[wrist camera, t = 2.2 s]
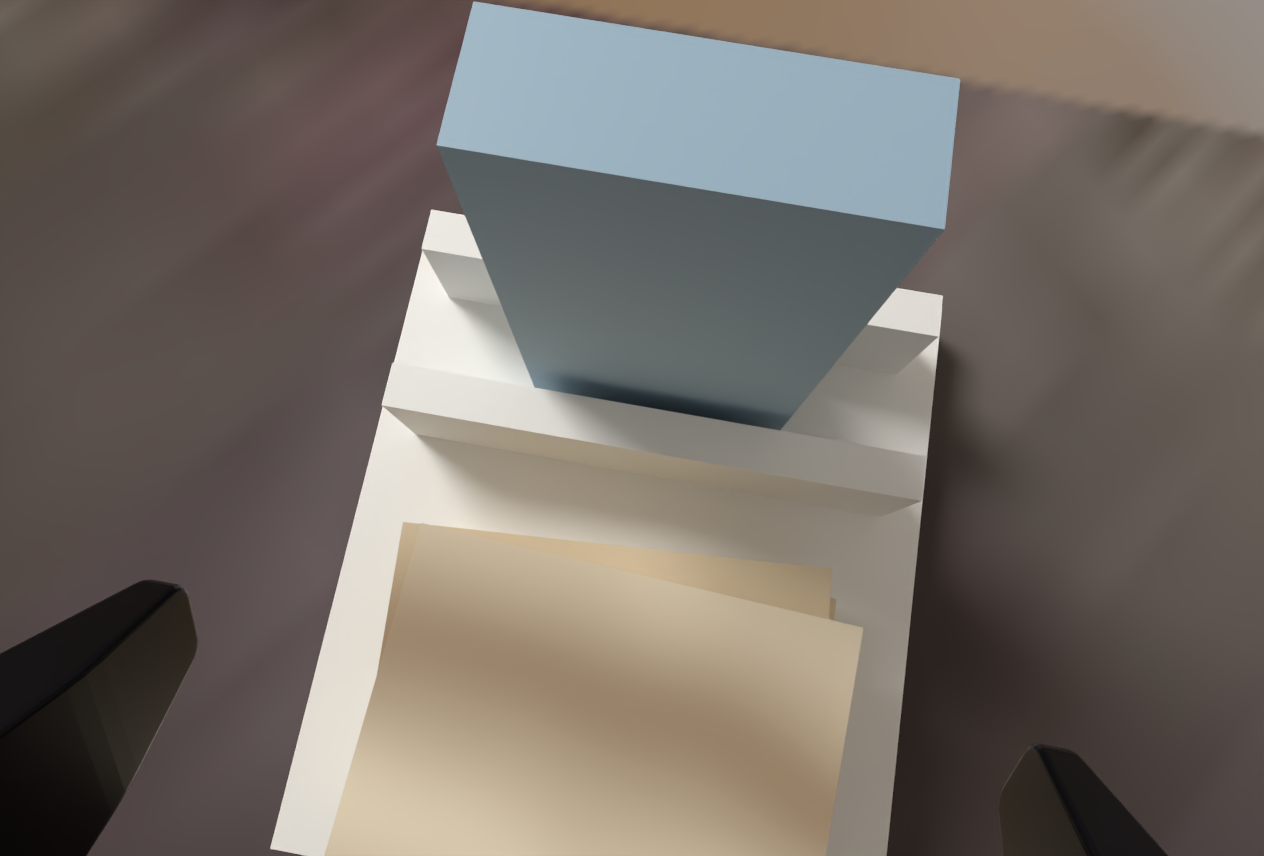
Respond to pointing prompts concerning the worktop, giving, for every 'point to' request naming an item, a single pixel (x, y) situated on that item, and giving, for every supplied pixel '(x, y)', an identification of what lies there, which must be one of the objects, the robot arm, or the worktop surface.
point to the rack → (632, 505)
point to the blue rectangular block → (689, 205)
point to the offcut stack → (598, 704)
